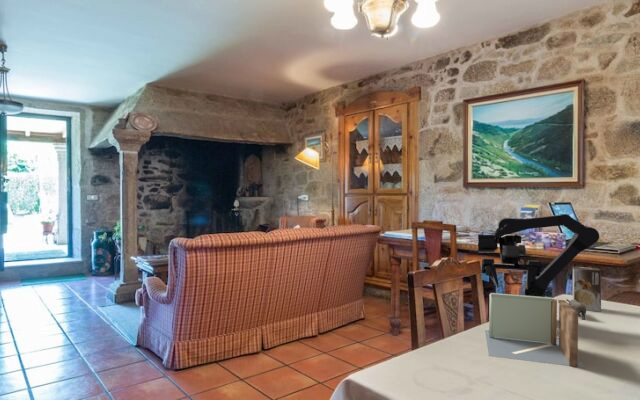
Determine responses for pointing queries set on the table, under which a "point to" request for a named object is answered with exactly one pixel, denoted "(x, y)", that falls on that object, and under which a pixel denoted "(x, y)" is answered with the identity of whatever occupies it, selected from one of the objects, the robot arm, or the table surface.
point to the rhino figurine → (578, 307)
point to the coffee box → (587, 287)
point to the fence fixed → (568, 332)
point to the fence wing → (523, 317)
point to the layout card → (526, 350)
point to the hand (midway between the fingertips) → (512, 288)
